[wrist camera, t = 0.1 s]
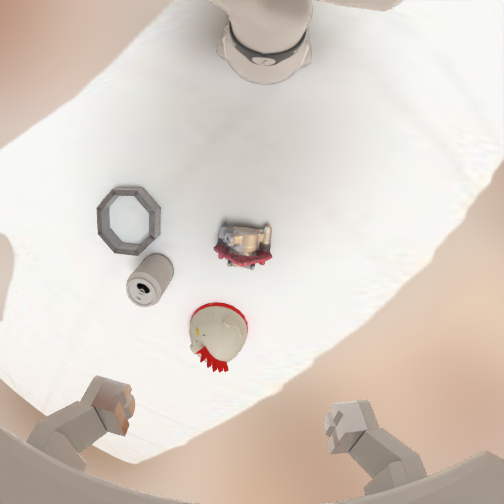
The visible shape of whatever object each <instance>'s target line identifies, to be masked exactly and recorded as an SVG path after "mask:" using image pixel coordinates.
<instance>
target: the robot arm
mask: <svg viewBox="0 0 504 504" xmlns="http://www.w3.org/2000/svg"><path fill="white" fill-rule="evenodd" d="M208 1H210V2H211V3H213V4H215V5H217V6H218V7H220V8H221V9H223V10H224V11H225V12H226V13H227V14H228V15H227V20H229V21H228V23H227V25H226V26H225V28H224V33H223V35H222V37H221V40H220V42H219V45H218V47H217V53H218V54H219V55H220V56H221V57H223V58H224V59H226V60H227V61H228V62H229V63H230V65H231V67H232V68H233V70H234V71H235V72H236V73H237V74H238V75H239V76H241V77H242V78H244V79H246V80H248V81H250V82H254V83H258V84H273V83H277V82H280V81H283V80H285V79H287V78H288V77H290V76H291V75H292V74H293V73H294V72H295V71H296V70H297V69H299V68H300V67H303V66H306V65H308V64H310V63H311V61H312V55H311V49H310V43H309V37H308V31H307V25H308V23H309V21H310V19H311V16H312V3H311V0H208ZM318 1H323V2H327V3H331V4H335V5H340V6H348V7H355V8H361V9H369V10H375V11H387V10H389V9H392V8H394V7H395V6H397V5H399V4H400V3H401V2H403V1H404V0H318ZM223 45H224V46H223ZM306 54H307V55H306ZM131 390H132V389H131V387H130V385H129V384H125V383H121V382H118V381H114V380H111V379H108V378H104V377H101V376H95V377H94V378H93V380H92V382H91V383H90V385H89V387H88V389H87V390H86V392H85V394H84V396H83V397H82V399H81V401H80V402H79V401H76V402H74V403H72V404H71V405H69V406H67V407H65V408H63V409H61V410H59V411H57V412H55V413H53V414H51V415H49V416H47V417H45V418H43V419H41V420H39V421H38V422H37V423H36V425H35V427H34V429H33V430H32V432H31V434H30V436H29V438H28V439H27V441H26V442H25V441H23V440H22V439H20V438H18V437H17V436H15V435H14V434H12V433H11V432H9V431H8V430H6V429H5V428H4V427H2V426H1V425H0V504H202V503H194V502H188V501H182V500H176V499H171V498H166V497H161V496H157V495H153V494H149V493H145V492H141V491H137V490H134V489H131V488H127V487H124V486H121V485H118V484H114V483H112V482H109V481H106V480H103V479H101V478H98V477H95V476H93V475H90V474H88V473H85V472H84V471H85V468H86V465H87V464H86V462H85V460H84V459H83V458H82V457H81V456H80V455H79V453H80V452H82V451H83V450H84V449H86V448H87V447H88V446H90V445H91V444H92V443H94V442H95V441H96V440H98V439H99V438H100V437H102V436H103V435H104V434H106V433H107V432H111V433H114V434H118V435H121V436H125V435H126V432H127V430H128V427H129V422H128V419H129V418H131V417H132V416H133V413H134V409H135V400H134V397H133V396H132V395H131V394H130V393H131ZM324 428H325V433H326V435H328V436H329V437H330V438H329V440H328V441H327V443H328V447H329V453H330V454H338V453H348V452H349V455H350V456H351V457H352V458H353V459H354V460H355V461H356V462H357V463H358V464H359V465H360V466H361V467H362V468H363V469H364V470H365V471H366V472H367V473H368V474H369V475H370V476H371V477H372V478H373V480H371V481H370V482H369V483H368V484H367V485H366V486H365V487H364V491H365V496H362V497H358V498H353V499H348V500H342V501H336V502H330V503H323V504H504V459H502V458H500V457H499V456H497V455H495V454H493V453H491V452H489V451H481V452H479V453H477V454H475V455H473V456H471V457H470V458H468V459H466V460H464V461H462V462H460V463H458V464H456V465H454V466H452V467H449V468H447V469H445V470H442V471H440V472H438V473H435V474H433V475H430V476H427V473H426V471H425V468H424V466H423V463H422V461H421V458H420V456H419V454H417V453H416V452H415V451H413V450H412V449H411V448H409V447H408V446H406V445H405V444H404V443H402V442H401V441H399V440H398V439H397V438H395V437H394V436H393V435H391V434H390V433H389V432H387V431H386V430H385V429H383V428H379V425H378V423H377V420H376V417H375V415H374V412H373V410H372V407H371V405H370V402H369V401H368V400H360V401H347V402H335V403H333V404H332V405H331V412H329V413H328V414H327V415H326V418H325V423H324Z"/></svg>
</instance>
